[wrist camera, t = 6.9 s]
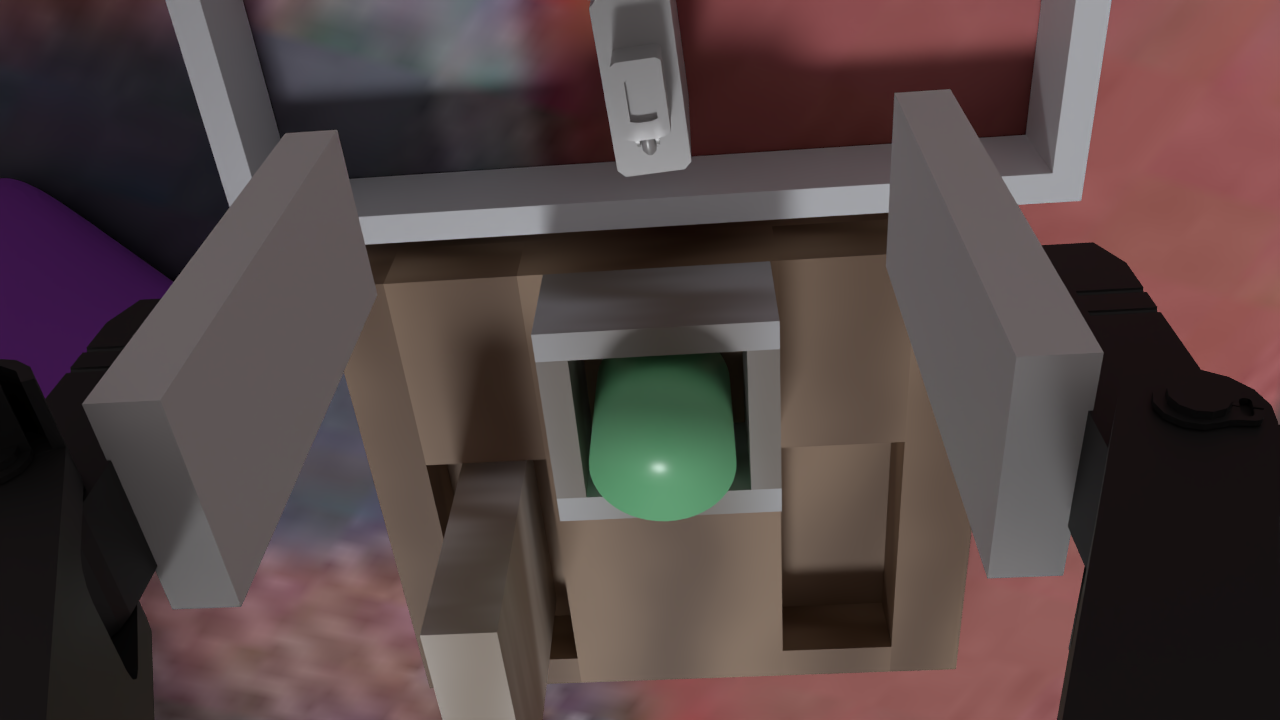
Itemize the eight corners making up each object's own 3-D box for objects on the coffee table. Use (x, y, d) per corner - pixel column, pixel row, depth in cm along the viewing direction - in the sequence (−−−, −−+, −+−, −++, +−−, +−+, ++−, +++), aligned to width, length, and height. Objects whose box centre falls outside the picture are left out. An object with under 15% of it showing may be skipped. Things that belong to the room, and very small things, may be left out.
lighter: (689, 102, 29) (695, 242, 23) (624, 111, 30) (611, 252, 23) (650, -193, 26) (644, -129, 19) (576, -180, 26) (544, -113, 19)
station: (442, 633, 41) (394, 846, 34) (343, 244, 32) (250, 421, 25) (940, 613, 40) (999, 830, 32) (980, 205, 31) (1073, 378, 24)
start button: (603, 440, 31) (596, 524, 28) (590, 331, 29) (581, 409, 26) (732, 433, 31) (738, 518, 28) (727, 323, 29) (734, 401, 26)
